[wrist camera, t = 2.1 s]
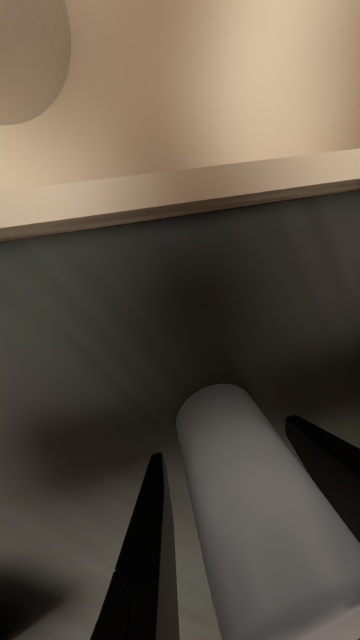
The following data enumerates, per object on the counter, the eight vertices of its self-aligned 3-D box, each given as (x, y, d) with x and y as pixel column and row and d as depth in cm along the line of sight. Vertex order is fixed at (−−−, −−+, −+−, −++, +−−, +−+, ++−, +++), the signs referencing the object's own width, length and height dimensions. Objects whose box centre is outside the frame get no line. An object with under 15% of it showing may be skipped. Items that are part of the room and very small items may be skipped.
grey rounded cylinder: (252, 374, 10) (410, 553, 4) (254, 437, 11) (376, 638, 5) (169, 395, 9) (218, 629, 4) (182, 458, 10) (232, 700, 5)
